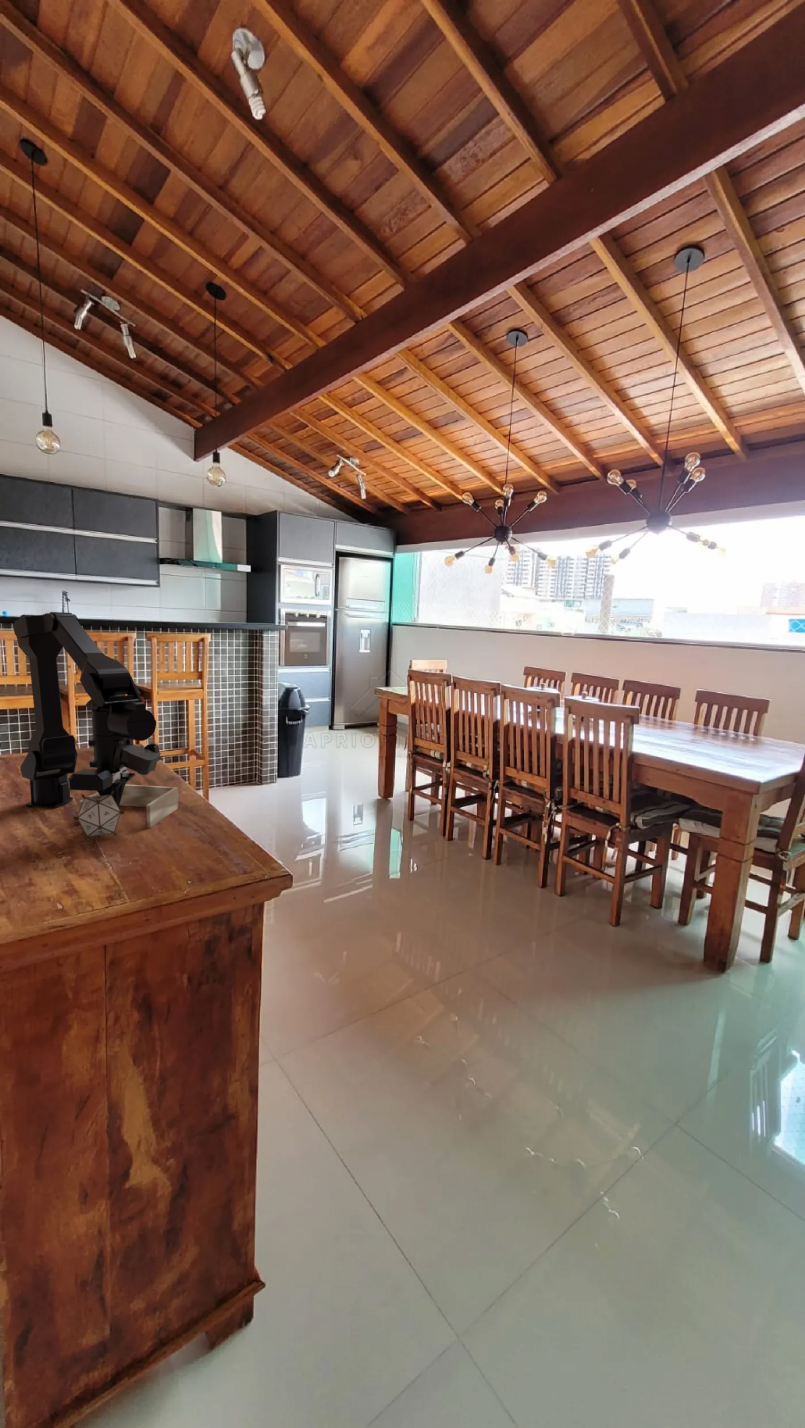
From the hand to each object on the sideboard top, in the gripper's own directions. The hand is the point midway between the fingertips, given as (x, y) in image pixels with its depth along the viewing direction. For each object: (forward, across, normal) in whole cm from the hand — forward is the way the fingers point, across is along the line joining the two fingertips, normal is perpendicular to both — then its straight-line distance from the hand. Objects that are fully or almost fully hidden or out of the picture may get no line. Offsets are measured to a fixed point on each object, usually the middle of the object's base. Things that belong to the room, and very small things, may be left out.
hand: (114, 812), depth 112 cm
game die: (+3, -5, 0) cm, 6 cm away
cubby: (+3, +6, 0) cm, 7 cm away
